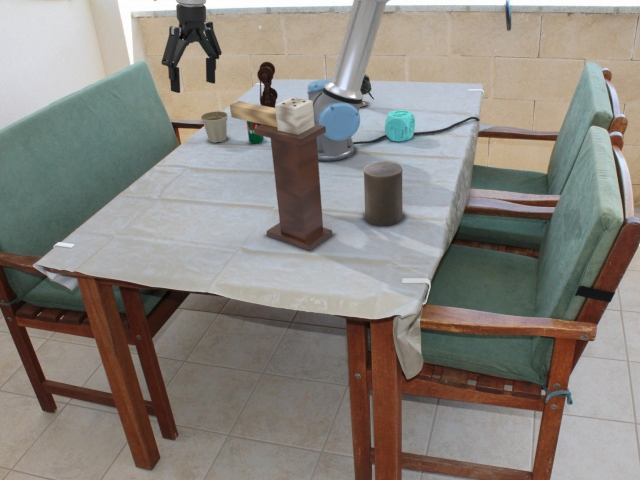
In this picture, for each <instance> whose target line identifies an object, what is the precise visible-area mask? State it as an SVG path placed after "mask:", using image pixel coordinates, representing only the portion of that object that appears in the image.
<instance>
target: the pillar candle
mask: <svg viewBox="0 0 640 480" xmlns="http://www.w3.org/2000/svg"><path fill="white" fill-rule="evenodd" d="M363 185H364V186H363V187H364V189H363V190H364V217H365V220H366V221H367V222H368V223H370V225H373V226H379V227H380V226H382V227H384V226H394V225H396V224H398V223H399V222H401V221H402V220H403V215H404V214H403V167H402V165H401V164H399V163H397V162H394V161H376V162H372V163H369V164H366V165H365V166H364V168H363Z"/></svg>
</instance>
